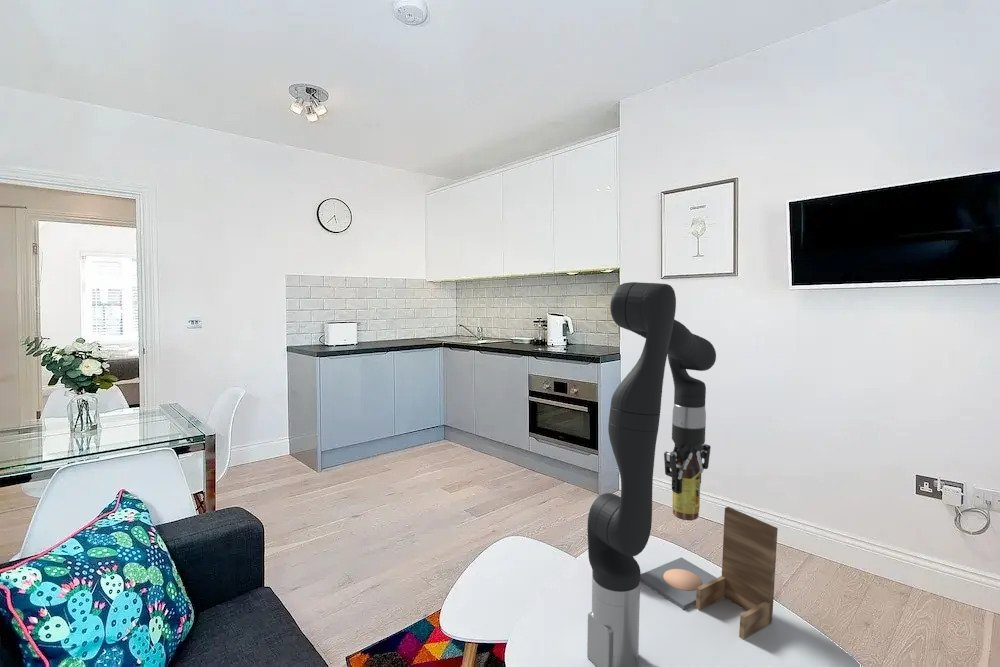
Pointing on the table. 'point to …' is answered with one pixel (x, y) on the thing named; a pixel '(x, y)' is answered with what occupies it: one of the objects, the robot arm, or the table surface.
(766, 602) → the shelf nook
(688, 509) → the sauce bottle
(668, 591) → the mat
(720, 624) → the table surface
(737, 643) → the table surface
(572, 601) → the table surface
